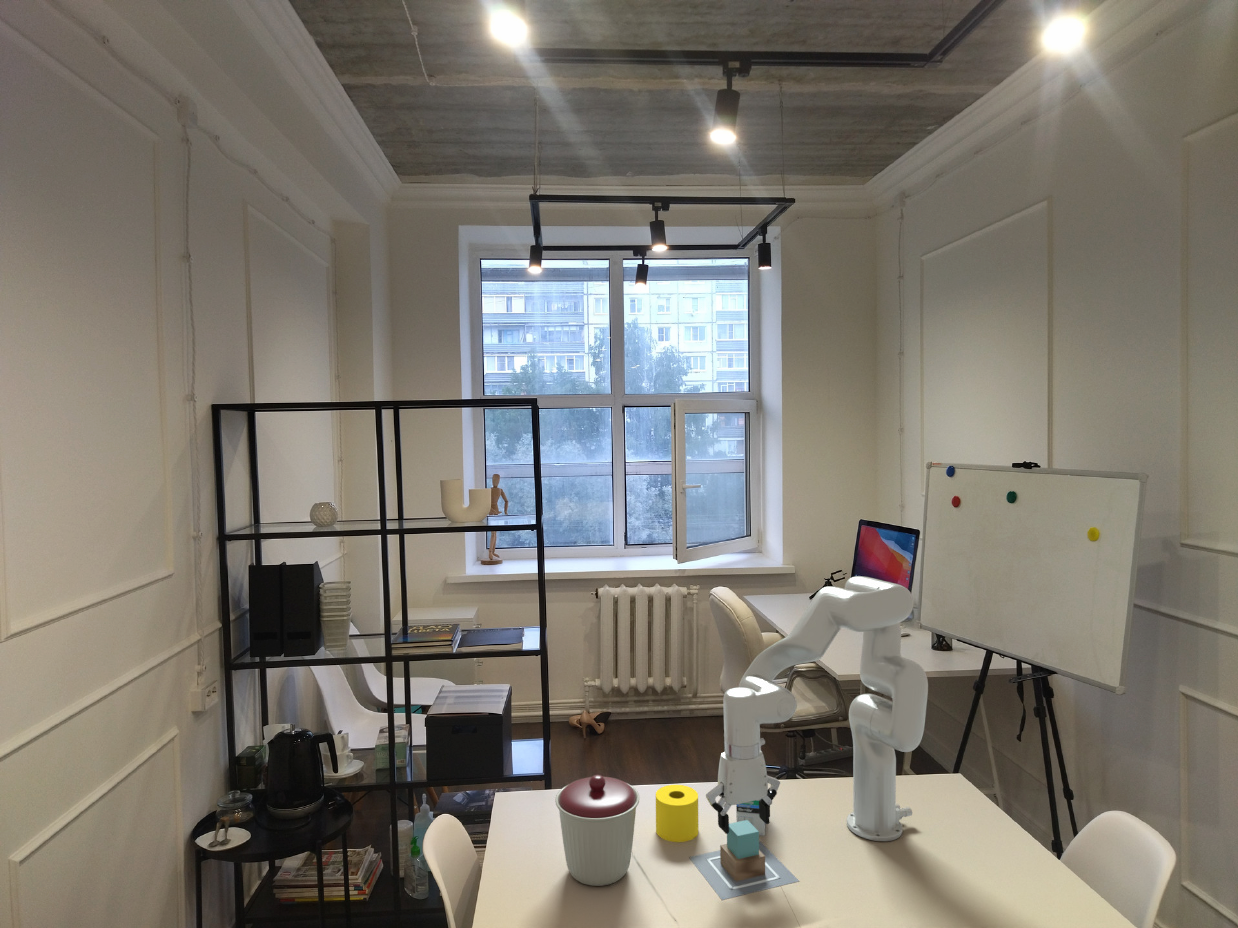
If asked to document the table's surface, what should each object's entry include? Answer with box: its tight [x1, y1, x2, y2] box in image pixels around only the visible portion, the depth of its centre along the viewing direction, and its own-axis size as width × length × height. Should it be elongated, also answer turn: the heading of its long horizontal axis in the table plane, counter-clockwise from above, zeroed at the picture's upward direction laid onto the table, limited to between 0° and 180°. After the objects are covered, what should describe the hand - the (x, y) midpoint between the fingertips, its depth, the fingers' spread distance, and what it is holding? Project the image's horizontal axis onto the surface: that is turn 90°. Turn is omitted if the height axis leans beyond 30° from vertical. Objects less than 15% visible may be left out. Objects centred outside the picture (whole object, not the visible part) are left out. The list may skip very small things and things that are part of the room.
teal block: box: [726, 820, 760, 859], centre depth 158 cm, size 5×5×5 cm
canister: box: [554, 774, 640, 887], centre depth 159 cm, size 18×18×21 cm
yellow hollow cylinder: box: [655, 784, 699, 843], centre depth 174 cm, size 10×10×9 cm
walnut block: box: [719, 843, 765, 881], centre depth 159 cm, size 7×7×4 cm
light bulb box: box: [735, 799, 766, 836], centre depth 177 cm, size 11×7×11 cm, turn 168°
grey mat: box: [688, 840, 800, 901], centre depth 159 cm, size 18×16×1 cm
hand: (744, 825), depth 159 cm, fingers open, 9 cm apart
